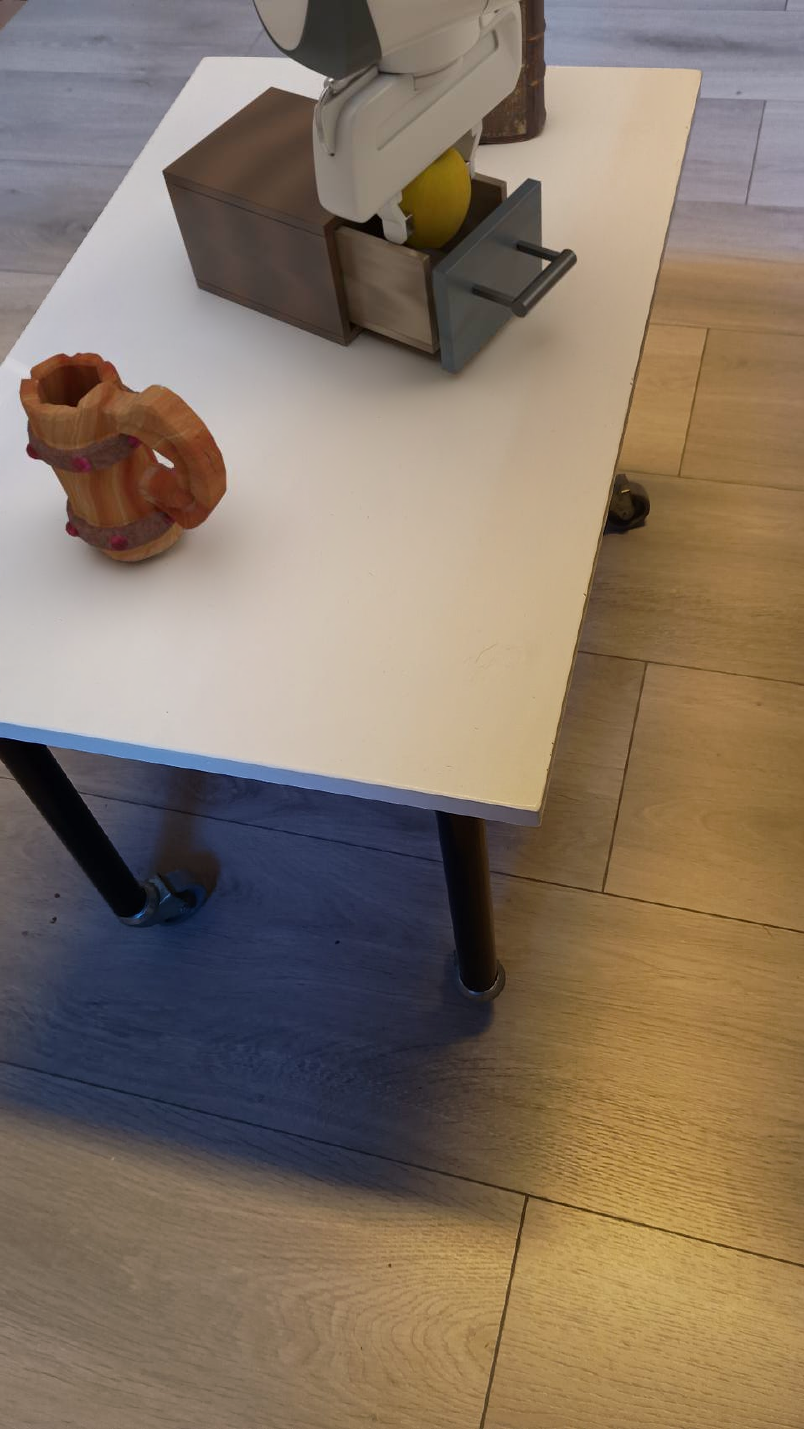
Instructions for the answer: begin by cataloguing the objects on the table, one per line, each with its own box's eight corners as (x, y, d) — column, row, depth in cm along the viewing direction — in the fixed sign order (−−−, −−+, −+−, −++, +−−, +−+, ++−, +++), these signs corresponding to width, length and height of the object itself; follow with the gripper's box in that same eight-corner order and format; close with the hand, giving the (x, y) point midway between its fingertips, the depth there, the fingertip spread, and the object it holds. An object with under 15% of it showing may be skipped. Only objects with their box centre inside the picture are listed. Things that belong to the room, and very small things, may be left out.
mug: (55, 554, 82) (-34, 393, 69) (119, 479, 85) (45, 314, 73) (219, 614, 77) (154, 453, 64) (279, 532, 80) (229, 364, 68)
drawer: (594, 301, 89) (598, 197, 82) (507, 395, 84) (503, 294, 77) (391, 232, 97) (378, 132, 90) (301, 314, 92) (279, 216, 85)
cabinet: (443, 254, 96) (431, 131, 87) (346, 346, 91) (323, 226, 82) (295, 204, 103) (271, 85, 94) (197, 287, 98) (161, 170, 89)
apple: (411, 277, 84) (398, 176, 77) (380, 234, 87) (366, 134, 81) (488, 249, 85) (482, 148, 78) (455, 208, 88) (446, 107, 81)
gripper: (352, 101, 67) (381, 298, 78) (536, -49, 75) (539, 150, 86) (273, 79, 69) (313, 273, 81) (459, -64, 77) (472, 131, 89)
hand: (431, 208), depth 84 cm, fingers closed on apple, 6 cm apart
